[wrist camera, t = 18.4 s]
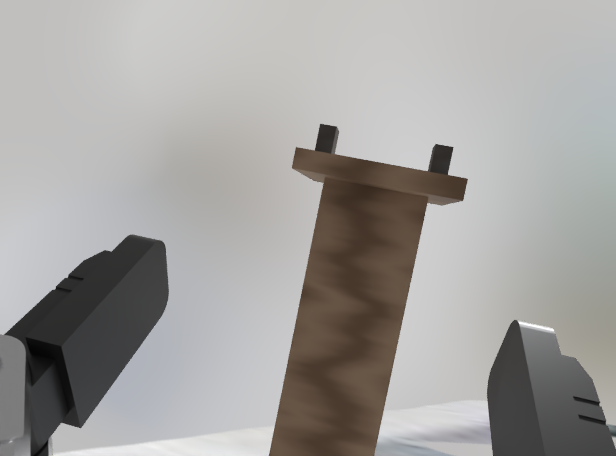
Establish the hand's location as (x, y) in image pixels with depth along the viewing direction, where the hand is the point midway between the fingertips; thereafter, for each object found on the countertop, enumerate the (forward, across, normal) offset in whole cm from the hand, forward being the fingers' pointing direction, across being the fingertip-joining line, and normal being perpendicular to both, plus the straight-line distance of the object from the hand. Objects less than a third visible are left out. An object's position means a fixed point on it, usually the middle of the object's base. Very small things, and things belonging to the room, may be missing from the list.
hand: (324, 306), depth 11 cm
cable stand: (+12, 0, +37) cm, 39 cm away
